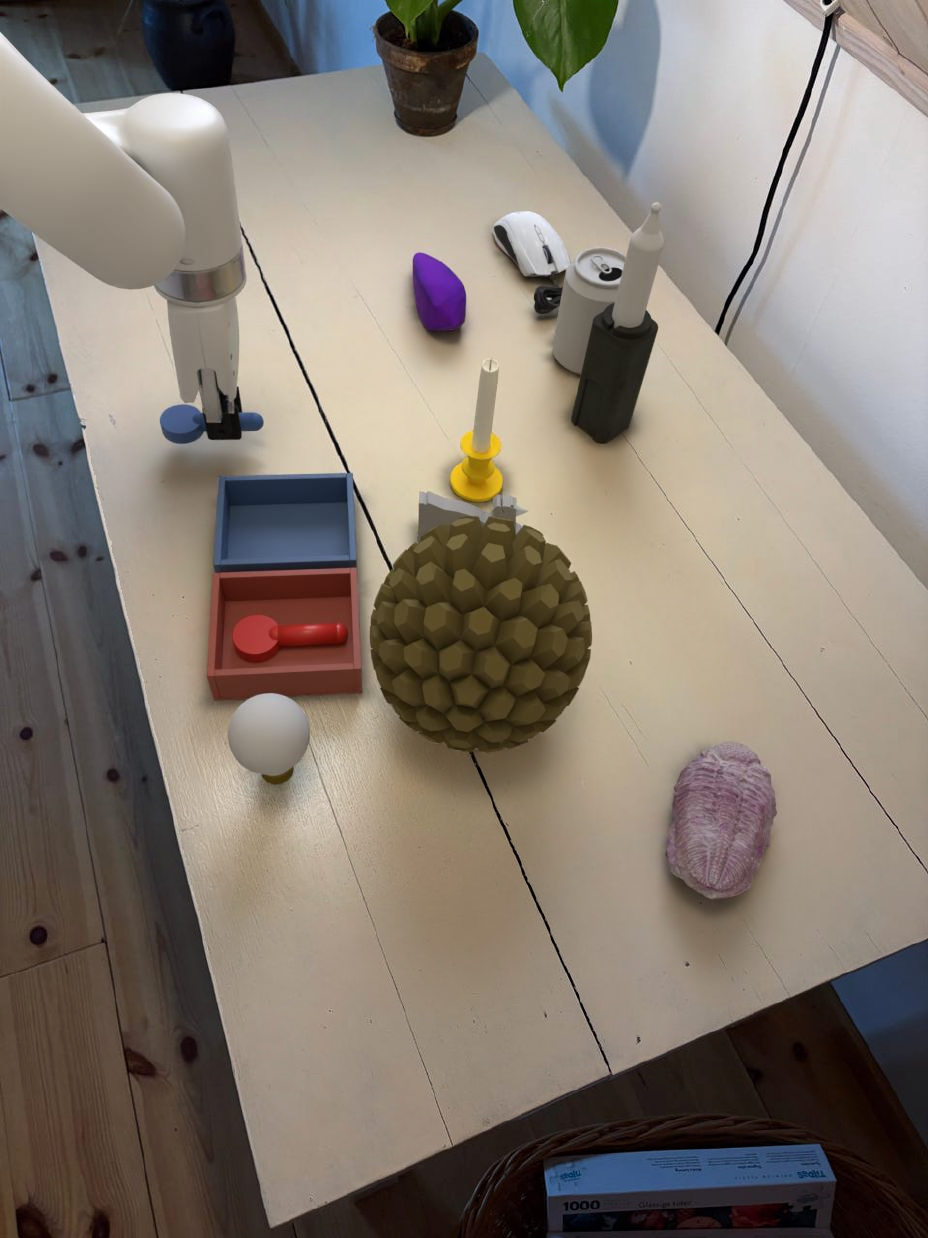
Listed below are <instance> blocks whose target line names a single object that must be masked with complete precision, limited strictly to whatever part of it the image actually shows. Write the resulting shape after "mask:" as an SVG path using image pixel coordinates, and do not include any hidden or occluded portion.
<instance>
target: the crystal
mask: <svg viewBox="0 0 928 1238" xmlns="http://www.w3.org/2000/svg"><path fill="white" fill-rule="evenodd" d="M412 281H413V282H412V283H413V293H414V298H415V299H414V300H415V304H416V309H417V312H418V315H419V319H420V320H421V323H422V324H423V325H424V326H423V327H424V328H425V329H426V330H427V331H453V330H457V329H459V328H460V327H462V326H463V325H464V324H465V322H466V315H467V314H466V313H467V291H466V287H465V285H464V283H463V281H462V280H461V278H459V276H458V275H457V274H456V273H455V272H454V271H453V270H452V269H451V268H450V267H449V266H448V265H446V264H445V263H444V262H442V261H441V260H439V259H438V258H436V257H434V256H431V255H430V254H427V253H426V252H419V251H418V252H416V253H415V254H414V255H413V258H412Z"/></svg>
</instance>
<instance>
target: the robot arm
mask: <svg viewBox="0 0 928 1238" xmlns="http://www.w3.org/2000/svg"><path fill="white" fill-rule="evenodd" d="M233 165H234V164H233V157H232V150H231V142H230V136H229V130H228V126H227V123H226V121H225V119H224V117H223V115H222V114H221V112H219V110H218V109H217V108H216V107H215V106H214V105H212V103H210V102H208V101H206V100H204V99H203V98H200V97H198V96H195V95H191V94H187V93H180V92H179V93H178V92H167V93H165V92H164V93H158V94H153V95H150V96H147V97H144V98H142V99H139V100H138V101H137V102H135V103H133V105H131V106H129V107H128V108H119V109H115V110H103V111H94V112H83V113H82V112H81V110H79V109H78V108H77V107H76V106H75V105H74V103H72V102H71V101H70V100H68V99H67V98H66V96H64V95H63V94H62V93H61V92H60V91H59V90H58V89H57V88H56V87H55V86H54V85H53V84H52V83H50V81H49V80H47V79H46V77H44V75H42V74H41V73H40V72H39V70H37V69H36V68H35V66H33V64H31V63H30V62H29V61H28V60H27V59H26V58H25V56H23V54H22V53H21V52H20V51H19V50H18V49H17V48H16V47H15V46H14V45H13V44H12V42H11V41H10V40H9V39H8V38H7V37H6V36H5V35H4V34H3V33H2V32H1V31H0V210H1V211H3V212H4V213H6V214H7V216H9V217H11V218H12V219H14V220H15V221H16V222H18V223H19V224H20V225H21V226H22V227H24V228H25V229H27V230H28V231H30V232H31V233H32V234H33V235H35V236H36V237H38V238H39V239H40V240H42V241H43V242H45V243H46V244H47V245H48V246H50V247H51V248H52V249H54V250H56V251H57V252H58V253H60V254H61V255H63V256H64V257H66V258H67V259H68V260H69V261H71V262H72V263H73V264H75V265H77V266H78V267H80V268H81V269H83V270H84V271H85V272H86V273H88V274H90V275H91V276H92V277H94V278H95V279H97V280H99V281H100V282H102V283H103V284H106V285H108V286H111V287H114V288H117V289H122V290H143V289H146V288H152V287H154V289H155V291H156V292H157V294H159V296H160V297H162V298H163V299H164V300H166V306H167V319H168V328H169V335H170V343H171V348H172V356H173V361H174V367H175V374H176V379H177V386H178V392H179V397H180V400H181V401H183V403H185V404H189V403H192V404H193V403H195V401H196V398H197V395H198V393H199V397H200V402H201V412H202V413H203V416H204V421H205V426H206V431H207V432H206V436H207V439H208V440H210V441H240V440H241V439H242V437H243V431H241V424H240V418H239V412H243V407H242V401H241V393H240V387H239V386H238V380H239V379H238V377H239V363H240V325H239V323H240V322H239V312H238V311H239V310H238V304H237V296H238V295H239V294H240V293H241V292H242V291H243V289H244V288H245V287H246V283H247V269H246V263H245V255H244V245H243V238H242V230H241V221H240V214H239V206H238V199H237V198H238V197H237V191H236V190H237V188H236V181H235V172H234V166H233Z"/></svg>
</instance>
